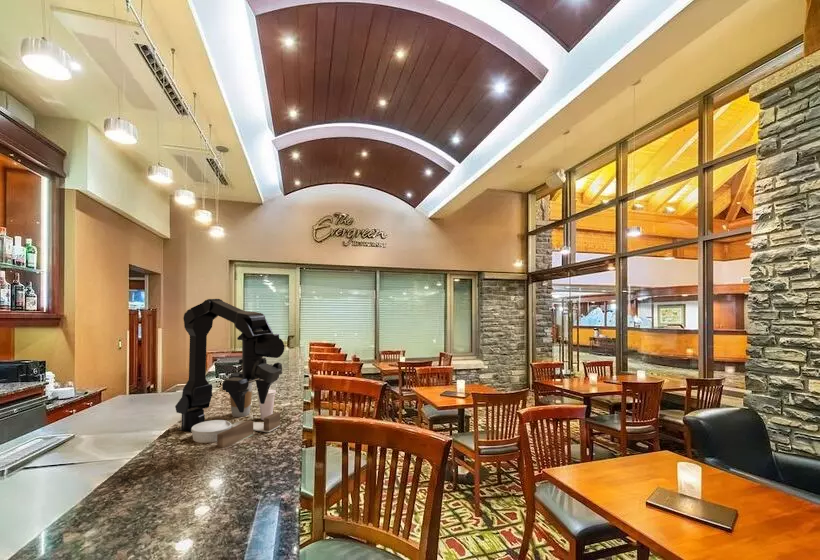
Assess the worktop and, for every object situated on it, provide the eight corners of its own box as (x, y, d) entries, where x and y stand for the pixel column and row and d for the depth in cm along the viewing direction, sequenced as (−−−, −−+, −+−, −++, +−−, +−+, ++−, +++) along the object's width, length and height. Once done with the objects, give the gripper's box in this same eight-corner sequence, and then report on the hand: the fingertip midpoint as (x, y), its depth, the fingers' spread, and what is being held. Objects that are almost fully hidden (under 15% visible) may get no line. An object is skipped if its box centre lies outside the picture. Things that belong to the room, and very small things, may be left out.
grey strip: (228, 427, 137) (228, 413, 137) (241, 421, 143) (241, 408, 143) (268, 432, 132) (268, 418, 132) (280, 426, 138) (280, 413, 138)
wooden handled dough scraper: (179, 444, 122) (179, 429, 122) (212, 429, 135) (212, 416, 135) (222, 450, 117) (222, 435, 117) (253, 434, 130) (253, 421, 130)
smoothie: (278, 415, 149) (279, 377, 150) (271, 421, 143) (271, 381, 143) (262, 415, 150) (262, 377, 150) (253, 421, 144) (253, 381, 144)
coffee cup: (247, 409, 157) (247, 370, 157) (256, 414, 151) (256, 373, 151) (224, 414, 151) (225, 373, 151) (233, 419, 145) (234, 377, 146)
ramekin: (234, 445, 125) (234, 427, 125) (192, 452, 119) (193, 434, 119) (227, 433, 134) (228, 417, 134) (189, 440, 128) (189, 423, 128)
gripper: (254, 362, 111) (254, 420, 111) (293, 351, 129) (293, 401, 129) (220, 360, 114) (220, 416, 114) (263, 350, 132) (263, 398, 132)
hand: (252, 407), depth 122 cm, fingers open, 9 cm apart
